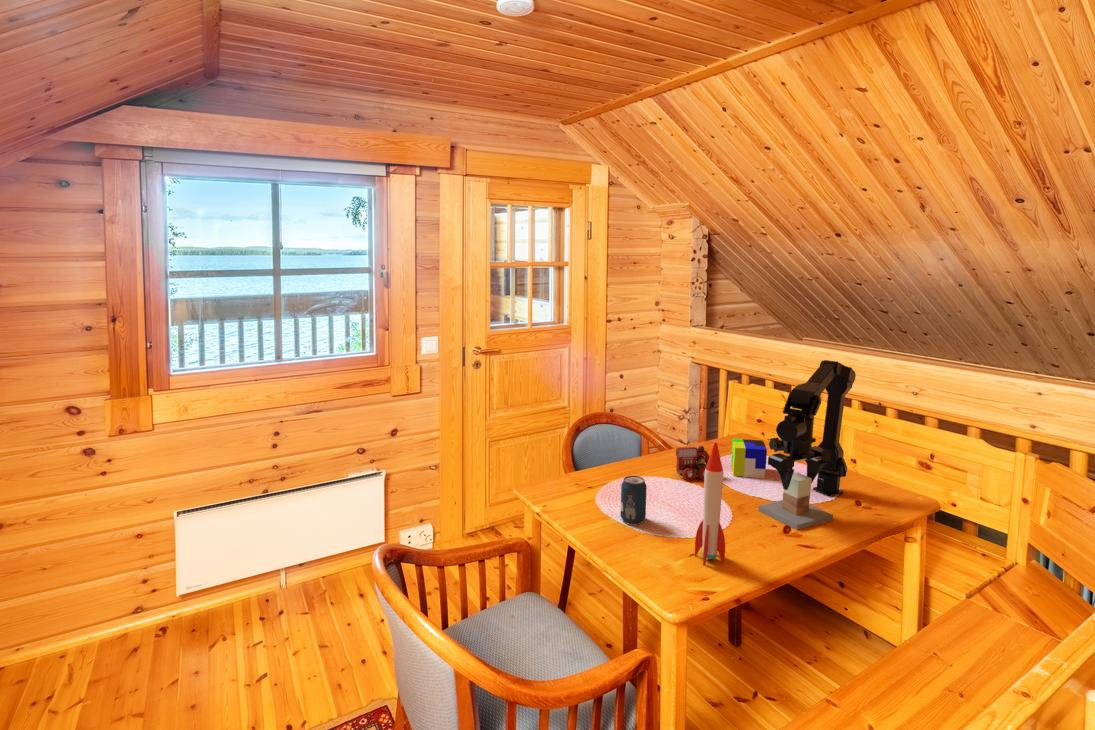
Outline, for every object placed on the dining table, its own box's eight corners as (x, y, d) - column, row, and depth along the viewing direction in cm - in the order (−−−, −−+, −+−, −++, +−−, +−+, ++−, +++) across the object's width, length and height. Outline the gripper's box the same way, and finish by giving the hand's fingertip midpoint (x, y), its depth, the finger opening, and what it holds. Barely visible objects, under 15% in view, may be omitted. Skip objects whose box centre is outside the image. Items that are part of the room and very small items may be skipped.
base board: (793, 501, 190) (793, 497, 190) (832, 519, 178) (833, 514, 178) (758, 510, 184) (758, 505, 184) (796, 529, 172) (797, 524, 171)
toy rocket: (694, 555, 158) (698, 439, 152) (715, 553, 159) (720, 437, 153) (703, 566, 152) (708, 446, 147) (725, 564, 153) (731, 444, 148)
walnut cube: (794, 505, 184) (795, 488, 183) (808, 511, 180) (810, 495, 179) (782, 508, 182) (783, 492, 181) (795, 515, 177) (797, 498, 176)
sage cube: (796, 489, 183) (797, 472, 182) (810, 495, 179) (811, 478, 178) (783, 492, 181) (784, 475, 180) (797, 498, 176) (798, 481, 175)
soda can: (640, 514, 181) (642, 474, 179) (648, 524, 175) (650, 483, 172) (617, 515, 180) (618, 475, 178) (624, 526, 174) (625, 484, 171)
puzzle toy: (764, 478, 209) (767, 449, 207) (733, 476, 211) (735, 447, 209) (761, 468, 219) (763, 440, 217) (730, 466, 220) (732, 438, 219)
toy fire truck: (715, 479, 208) (717, 449, 206) (679, 481, 206) (680, 451, 204) (706, 472, 215) (708, 442, 213) (671, 474, 213) (672, 444, 211)
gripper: (802, 422, 187) (798, 472, 190) (754, 430, 179) (751, 482, 182) (834, 431, 178) (829, 484, 181) (785, 441, 169) (781, 496, 172)
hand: (797, 486), depth 179 cm, fingers open, 9 cm apart
